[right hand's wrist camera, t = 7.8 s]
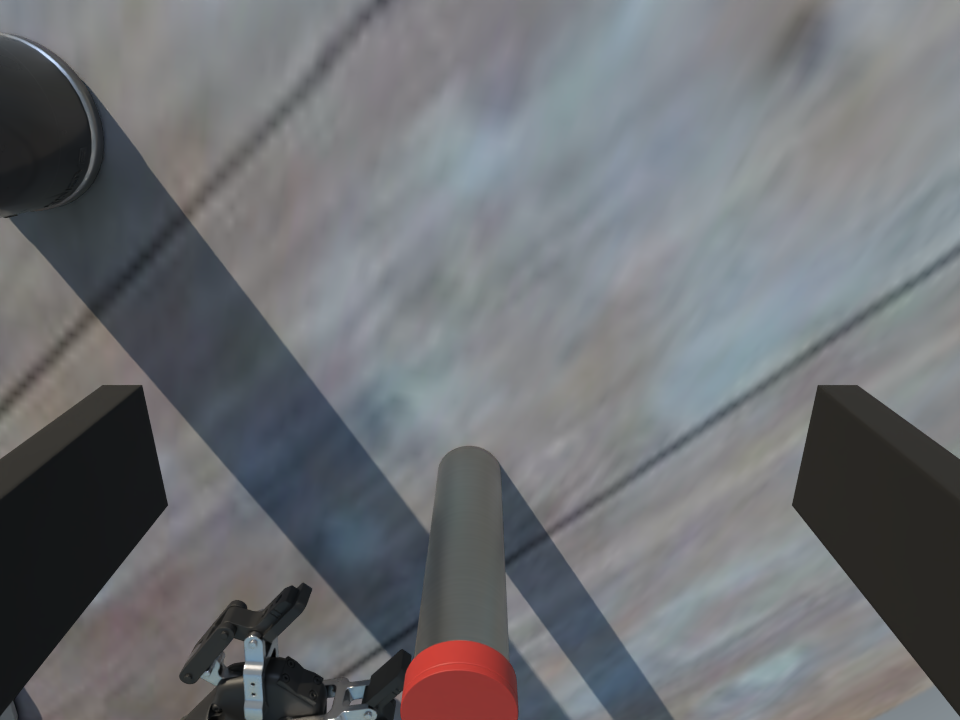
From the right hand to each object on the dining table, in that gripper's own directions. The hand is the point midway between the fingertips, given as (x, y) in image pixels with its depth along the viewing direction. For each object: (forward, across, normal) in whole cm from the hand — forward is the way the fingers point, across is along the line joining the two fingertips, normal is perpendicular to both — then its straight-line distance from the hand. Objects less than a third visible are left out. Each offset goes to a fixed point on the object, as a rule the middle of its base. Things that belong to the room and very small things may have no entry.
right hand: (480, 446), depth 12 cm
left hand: (+21, +8, +26) cm, 34 cm away
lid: (+9, +1, +18) cm, 20 cm away
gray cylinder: (+27, +1, +18) cm, 33 cm away
